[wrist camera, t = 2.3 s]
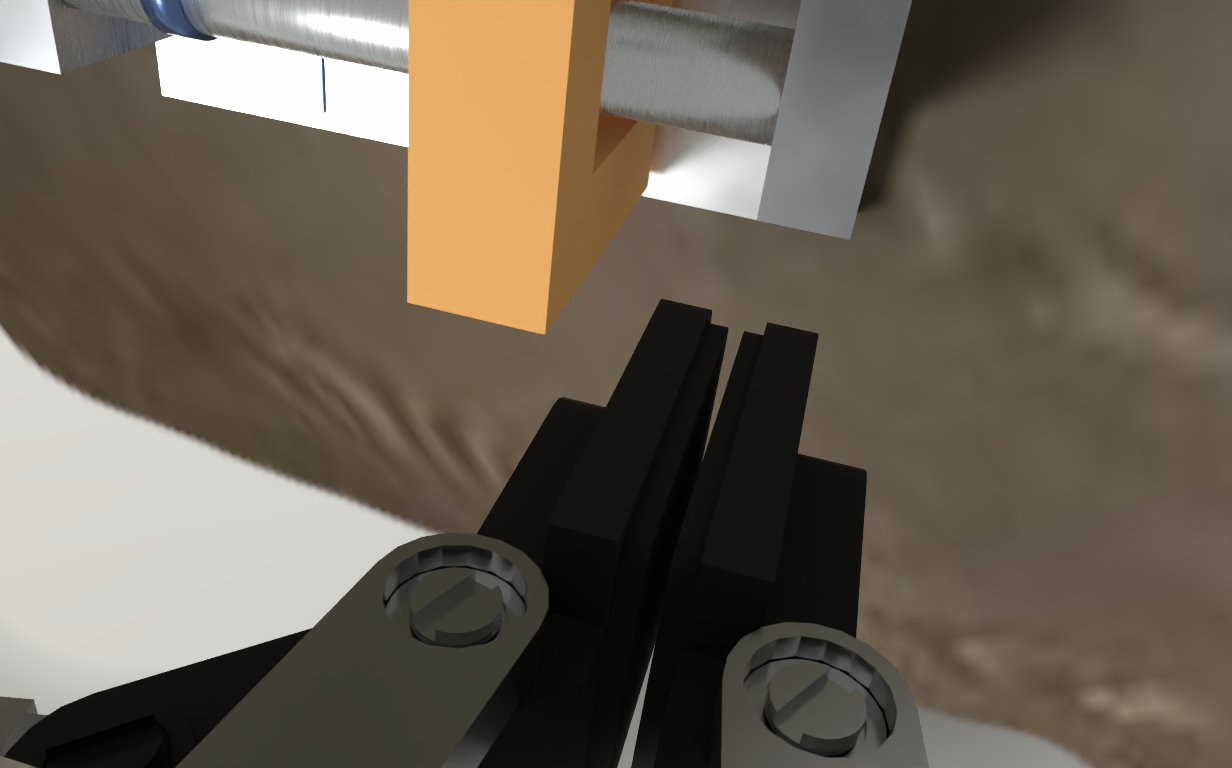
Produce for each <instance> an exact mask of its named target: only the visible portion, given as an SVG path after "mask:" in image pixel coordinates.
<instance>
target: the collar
mask: <svg viewBox="0 0 1232 768" xmlns="http://www.w3.org/2000/svg"><path fill="white" fill-rule="evenodd" d="M635 1H641V2H646V3H652V4H657V5H663V6H669V7H673V0H635ZM610 7H611V0H409V49H408V296H407V302H408V303H412V304H417V305H421V306H425V307H429V308H434V309H438V310H442V311H446V312H450V313H455V314H459V315H463V316H467V317H472V318H476V319H480V320H484V321H489V322H493V323H497V324H501V325H506V326H510V327H514V328H518V329H523V330H527V331H531V332H535V333H539V334H544V335H545V334H546V333H547V331H548V330H549V328H550V327H551V325H552V324H553V323H554V321H555V320H556V318H557V317H558V315H559V314H560V312H561V311H562V310H563V308H564V307H565V305H566V304H567V302H568V301H569V299H570V298H571V297H572V295H573V294H574V292H575V291H576V289H577V288H578V286H579V285H580V284H581V282H582V281H583V279H584V278H585V276H586V275H587V273H588V272H589V271H590V269H591V268H592V266H593V265H594V263H595V262H596V260H597V259H598V258H599V256H600V255H601V253H602V252H603V250H604V249H605V247H606V246H607V244H608V243H609V242H610V240H611V239H612V237H613V236H614V234H615V233H616V231H617V230H618V229H619V227H620V226H621V224H622V223H623V221H624V220H625V218H626V217H627V216H628V214H629V213H630V211H631V210H632V208H633V207H634V205H635V204H636V203H637V201H638V200H639V198H640V197H641V195H642V194H643V192H644V191H645V190H646V188H647V187H648V180H649V173H650V166H651V158H652V151H653V144H654V137H655V130H656V124H655V123H649V122H644V121H639V120H634V119H629V118H624V117H619V116H614V115H609V114H604V113H599V110H600V100H601V91H602V81H603V72H604V63H605V53H606V44H607V35H608V25H609V16H610Z"/></svg>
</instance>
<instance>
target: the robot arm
mask: <svg viewBox="0 0 1232 768" xmlns="http://www.w3.org/2000/svg"><path fill="white" fill-rule="evenodd" d="M711 317H712V310H709V309H705V308H700V307H696V306H691V305H687V304H682V303H678V302H673V301H669V300H664V299H661V300H660V302H659V304H658V306H657V307H656V309H655V311H654V313H653V315H652V317H651V319H650V321H649V323H648V325H647V327H646V329H645V331H644V333H643V335H642V337H641V339H640V341H639V343H638V345H637V347H636V349H635V351H634V353H633V355H632V357H631V359H630V361H629V363H628V365H627V367H626V369H625V371H624V373H623V375H622V377H621V379H620V381H619V383H618V384H617V386H616V388H615V390H614V392H613V394H612V396H611V398H610V400H609V402H608V404H607V406H606V407H602V406H598V405H594V404H589V403H585V402H581V401H577V400H573V399H569V398H564V397H562V398H559V399H558V400H557V401H556V403H555V404H554V405H553V407H552V408H551V410H550V412H549V414H548V415H547V417H546V419H545V420H544V422H543V424H542V425H541V427H540V429H539V430H538V432H537V434H536V435H535V437H534V439H533V440H532V442H531V444H530V445H529V447H528V449H527V450H526V452H525V454H524V456H523V457H522V459H521V461H520V462H519V464H518V466H517V467H516V469H515V471H514V472H513V474H512V476H511V477H510V479H509V481H508V482H507V484H506V486H505V487H504V489H503V491H502V493H501V494H500V496H499V498H498V499H497V501H496V503H495V504H494V506H493V508H492V509H491V511H490V513H489V514H488V516H487V518H486V519H485V521H484V523H483V524H482V526H481V528H480V529H479V531H478V533H477V534H467V533H444V534H438V535H432V536H425V537H421V538H418V539H416V540H414V541H411V542H408V543H406V544H404V545H401V546H398V547H397V548H395V549H394V550H393V551H391V552H390V553H389V554H387V555H386V556H385V557H383V558H382V559H381V560H379V561H378V562H377V563H376V564H375V565H374V566H373V567H372V568H371V569H370V570H369V572H367V573H366V574H365V575H364V576H363V577H362V578H361V579H360V580H359V582H357V584H356V585H355V586H354V587H353V588H352V589H351V590H350V591H349V592H348V593H347V594H346V595H345V596H344V597H343V598H342V599H341V600H340V601H339V602H338V603H337V604H336V605H335V606H334V607H333V608H332V609H331V610H330V611H329V612H328V613H327V614H326V615H325V616H324V617H323V618H322V619H321V620H320V621H319V622H318V623H317V624H316V625H315V626H314V627H313V628H311V629H308V630H305V631H301V632H298V633H295V634H291V635H288V636H284V637H281V638H278V639H275V640H271V641H268V642H264V643H261V644H258V645H255V646H251V647H248V648H244V649H241V650H238V651H234V652H231V653H228V654H224V655H221V656H217V657H214V658H211V659H207V660H204V661H201V662H198V663H194V664H191V665H187V666H184V667H181V668H177V669H174V670H171V671H167V672H164V673H161V674H157V675H154V676H151V677H147V678H144V679H140V680H137V681H134V682H130V683H127V684H124V685H121V686H117V687H114V688H110V689H107V690H104V691H100V692H97V693H94V694H91V695H89V696H86V697H84V698H82V699H79V700H77V701H74V702H72V703H69V704H67V705H64V706H62V707H60V708H59V709H57V710H56V711H54V712H53V713H51V714H50V715H39V714H38V713H37V710H36V706H35V702H34V700H33V699H23V698H10V697H0V768H617V766H618V763H619V759H620V756H621V753H622V750H623V746H624V743H625V740H626V737H627V733H628V730H629V726H630V724H631V720H632V717H633V714H634V711H635V707H636V704H637V700H638V697H639V694H640V691H641V687H642V684H643V681H644V678H645V675H646V671H647V668H648V665H649V661H650V658H651V655H652V652H653V648H654V653H653V658H652V663H651V668H650V673H649V678H648V684H647V689H646V694H645V699H644V704H643V710H642V715H641V720H640V725H639V730H638V735H637V740H636V745H635V751H634V756H633V761H632V766H631V768H929V766H928V761H927V756H926V751H925V746H924V741H923V736H922V731H921V725H920V720H919V715H918V710H917V707H916V704H915V702H914V699H913V697H912V694H911V691H910V689H909V686H908V684H907V683H906V682H905V680H904V679H903V678H902V676H901V675H900V674H899V673H898V671H897V670H896V669H895V667H894V666H893V665H892V663H891V662H889V661H888V660H887V659H886V658H884V657H883V656H882V655H881V654H879V653H878V652H877V651H876V650H874V649H873V648H872V647H871V646H869V645H868V644H866V643H864V642H862V641H860V640H858V639H856V629H857V615H858V600H859V585H860V571H861V556H862V541H863V527H864V512H865V497H866V483H867V472H866V471H865V470H864V469H860V468H856V467H851V466H847V465H843V464H839V463H835V462H831V461H827V460H822V459H818V458H814V457H810V456H806V455H802V454H797V453H798V448H799V442H800V436H801V431H802V425H803V419H804V414H805V408H806V402H807V397H808V391H809V385H810V380H811V374H812V369H813V363H814V357H815V352H816V346H817V340H818V333H813V332H809V331H804V330H800V329H795V328H791V327H786V326H782V325H777V324H773V323H768V322H767V326H766V329H765V333H764V335H759V334H755V333H750V332H746V331H744V333H743V336H742V339H741V342H740V346H739V349H738V352H737V355H736V358H735V361H734V364H733V368H732V371H731V374H730V377H729V380H728V383H727V386H726V390H725V393H724V396H723V399H722V402H721V405H720V408H719V412H718V415H717V418H716V421H715V424H714V427H713V430H712V433H711V437H710V440H709V443H708V446H707V449H706V452H705V455H704V450H705V445H706V440H707V435H708V430H709V425H710V420H711V415H712V410H713V405H714V400H715V395H716V390H717V385H718V380H719V376H720V371H721V366H722V361H723V356H724V351H725V346H726V341H727V335H728V327H724V326H719V325H715V324H711ZM703 455H704V459H703ZM702 460H703V462H702ZM654 645H655V647H654Z"/></svg>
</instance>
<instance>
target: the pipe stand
mask: <svg viewBox="0 0 1232 768" xmlns="http://www.w3.org/2000/svg"><path fill="white" fill-rule="evenodd" d="M911 3H912V0H673V7H669V6H663V5H657V4H652V3H646V2H641V1H635V0H611V7H610V16H609V25H608V35H607V44H606V53H605V63H604V72H603V81H602V91H601V100H600V110H599V113H604V114H609V115H614V116H619V117H624V118H629V119H634V120H639V121H644V122H649V123H655V124H656V130H655V137H654V144H653V151H652V158H651V166H650V173H649V180H648V187H647V188H646V190H645V191H644V192H643V194H642V195H641V196H645V197H650V198H655V199H660V200H665V201H669V202H674V203H679V204H684V205H688V206H693V207H698V208H703V209H708V210H712V211H717V212H722V213H727V214H731V215H736V216H741V217H746V218H750V219H755V220H758V221H763V222H767V223H772V224H777V225H782V226H787V227H791V228H796V229H801V230H806V231H810V232H815V233H820V234H825V235H829V236H834V237H839V238H844V239H849V240H850V238H851V234H852V230H853V226H854V222H855V219H856V215H857V211H858V207H859V203H860V199H861V196H862V192H863V188H864V184H865V180H866V176H867V172H868V169H869V165H870V161H871V157H872V153H873V149H874V146H875V142H876V138H877V134H878V130H879V126H880V122H881V119H882V115H883V111H884V107H885V103H886V99H887V95H888V92H889V88H890V84H891V80H892V76H893V72H894V69H895V65H896V61H897V57H898V53H899V49H900V45H901V42H902V38H903V34H904V30H905V26H906V22H907V19H908V15H909V11H910V7H911ZM155 42H156V50H157V58H158V65H159V73H160V81H161V89H162V95H164V96H168V97H173V98H178V99H183V100H188V101H192V102H197V103H202V104H207V105H211V106H216V107H221V108H226V109H231V110H235V111H240V112H245V113H250V114H254V115H259V116H264V117H269V118H273V119H278V120H283V121H288V122H293V123H297V124H302V125H307V126H312V127H316V128H321V129H326V130H331V131H335V132H340V133H345V134H350V135H355V136H359V137H364V138H369V139H374V140H378V141H383V142H388V143H393V144H397V145H402V146H407V147H408V49H409V0H0V62H5V63H9V64H14V65H19V66H24V67H28V68H33V69H38V70H43V71H47V72H52V73H57V74H63V73H66V72H69V71H72V70H75V69H78V68H81V67H84V66H87V65H90V64H93V63H96V62H99V61H102V60H104V59H107V58H110V57H113V56H116V55H119V54H122V53H125V52H128V51H131V50H134V49H137V48H140V47H143V46H146V45H149V44H152V43H155Z"/></svg>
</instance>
